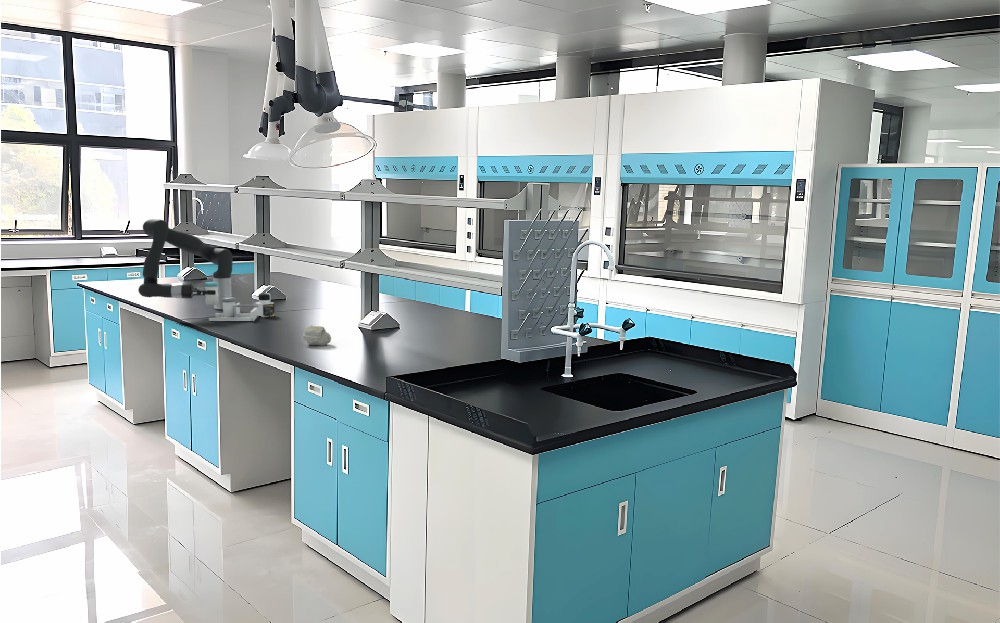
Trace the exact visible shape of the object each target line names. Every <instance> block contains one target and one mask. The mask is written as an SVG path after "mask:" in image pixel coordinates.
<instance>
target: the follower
mask: <svg viewBox="0 0 1000 623" xmlns="http://www.w3.org/2000/svg"><path fill="white" fill-rule="evenodd" d="M255 307H258V305H255V304H241V302H236V303H235V305H234V317H240V313H241V308H255Z"/></svg>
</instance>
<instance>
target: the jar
mask: <svg viewBox="0 0 1000 623" xmlns="http://www.w3.org/2000/svg"><path fill="white" fill-rule="evenodd" d="M204 286H205V287H206V290H207V291H208V290H215V291H216V294H215V295H205V305H206V306H214V305H218V282H213V281H207V282H206V281H205V283H204Z"/></svg>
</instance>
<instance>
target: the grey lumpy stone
mask: <svg viewBox="0 0 1000 623" xmlns="http://www.w3.org/2000/svg"><path fill="white" fill-rule="evenodd" d="M302 339H303V340H304V341H305V342H306V343H307V344H308V345H309V346H319V347H323V346H326V345H329V344H331V342H332V336H331V334H330V332H328V331H327V330H326V329H325V327H324V326H318V325H317V326H315V325H310V326H307V327H305V328H304V330H303V333H302Z"/></svg>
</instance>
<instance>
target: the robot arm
mask: <svg viewBox="0 0 1000 623" xmlns="http://www.w3.org/2000/svg"><path fill="white" fill-rule="evenodd" d="M142 230H143V233H144V234H145V235H146V236H147V237H149V238H152V244H151V246H150V249H149V251H148V252H147V255H146V256H145V259H144V261H143V267H142V277H143V283H142V284H140V286H138V289H137V290H138V294H139V295H141V296H142V297H144V298H158V297H159V298H171V299H173V298H174V299H193V297H195V296H196V297H197V296H203V297H204V296H205V297H206V295H215V294H216V291H215V290H208V291H207V290H206V287H203V286H202V287H201V286H196V287H195V288H194V286H193V285H194V284H193V283H179V282H178V283H158V274H159V269H160V263H161V257H162V253H163V250H164V247H165V245H166V243H168V244H169V245H171V246H173V247H176V248H178V249H180V250H182V251H183V252H184V251H185V252H186V253H189V254H192V255H194V256H198V257H201V258H203V259H204V260H206V261H208V262H209V263H211V264H213V265H217V270H216V271H214V272H213V273H212V280H213V281H212V282H218V305H213V309H216V310H223V302H222V298H226V297H232V272H233V253H232V252H231V250H230V249H228V248H219V247H215V246H211V245H208V244H207V243H205V242H203V240H202V239H201V238H199V237H197V236H195V235H193V234H191V233H188V232H184V231H182V230H181V231H180V230H177V229H172V228H170V227H169V224H168V222H167V221H165V220H164V219H158V218H157V219H155V218H151V219H147V220H145V221H144V222H143V224H142Z"/></svg>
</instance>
